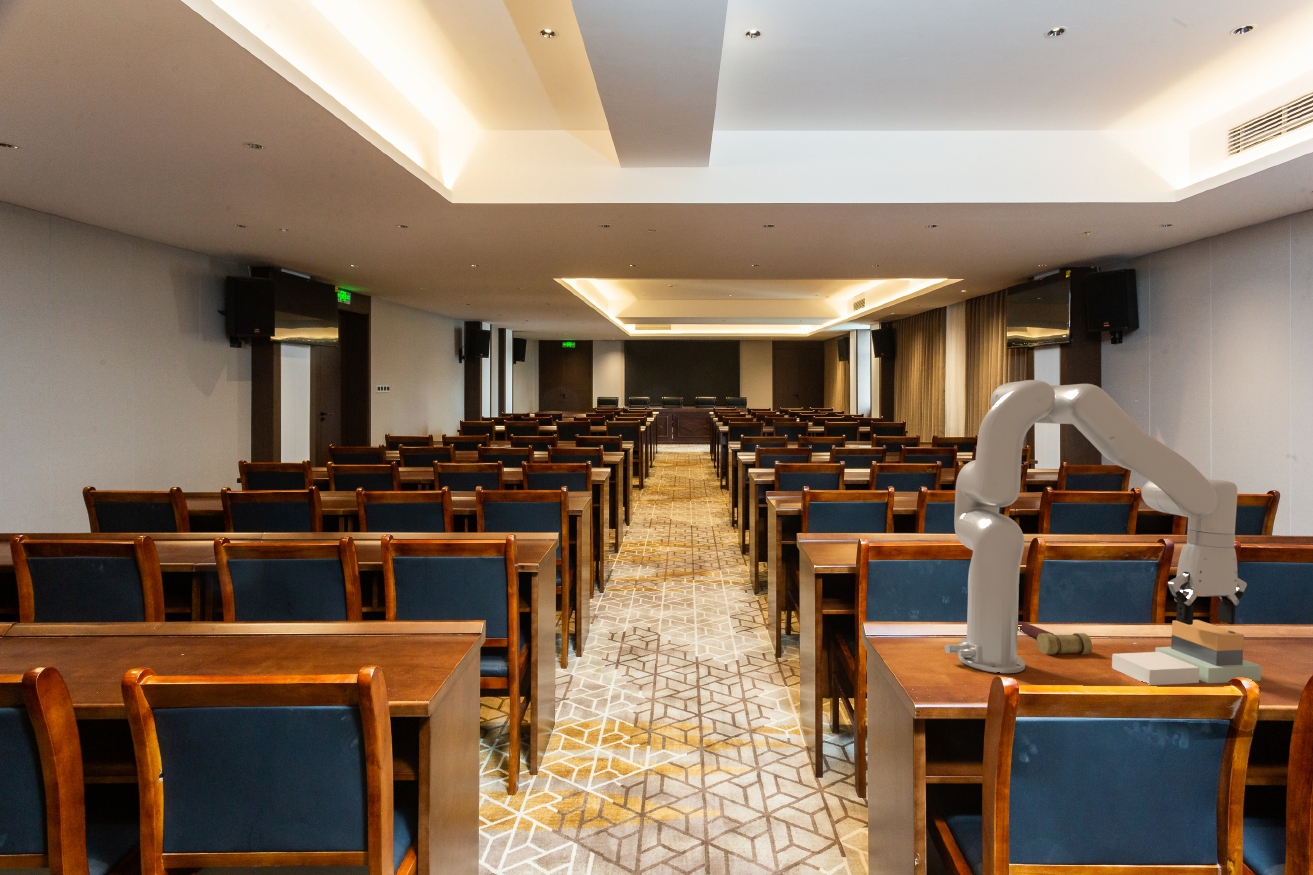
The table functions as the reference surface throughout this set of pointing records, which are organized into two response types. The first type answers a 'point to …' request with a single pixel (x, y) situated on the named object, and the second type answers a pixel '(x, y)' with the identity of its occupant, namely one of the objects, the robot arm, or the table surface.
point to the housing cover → (1208, 635)
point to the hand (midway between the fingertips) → (1205, 622)
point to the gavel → (1058, 641)
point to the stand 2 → (1216, 668)
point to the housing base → (1207, 652)
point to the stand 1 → (1155, 668)
